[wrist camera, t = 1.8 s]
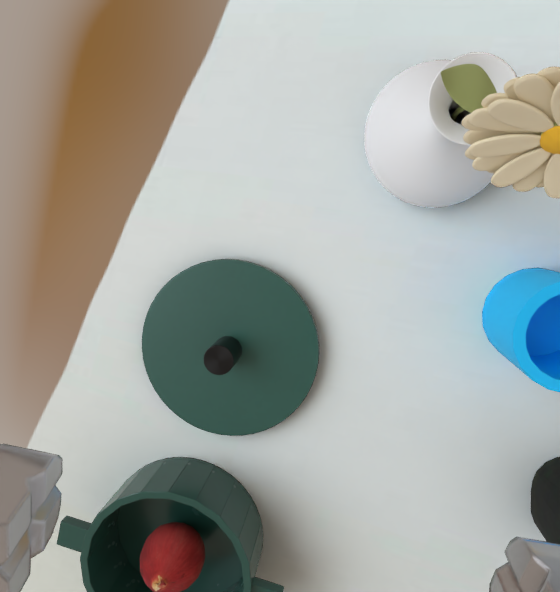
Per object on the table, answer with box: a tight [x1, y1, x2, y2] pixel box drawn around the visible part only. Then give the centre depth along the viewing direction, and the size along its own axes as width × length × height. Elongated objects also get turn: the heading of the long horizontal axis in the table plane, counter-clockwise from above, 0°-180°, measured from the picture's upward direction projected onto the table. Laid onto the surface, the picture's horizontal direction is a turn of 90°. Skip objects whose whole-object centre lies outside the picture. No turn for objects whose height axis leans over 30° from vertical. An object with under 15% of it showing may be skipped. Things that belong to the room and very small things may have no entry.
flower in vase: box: [364, 52, 560, 208], centre depth 30 cm, size 13×11×25 cm
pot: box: [57, 457, 284, 592], centre depth 47 cm, size 15×21×6 cm
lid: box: [142, 259, 319, 436], centre depth 44 cm, size 16×16×5 cm
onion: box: [140, 522, 205, 592], centre depth 46 cm, size 6×6×8 cm
